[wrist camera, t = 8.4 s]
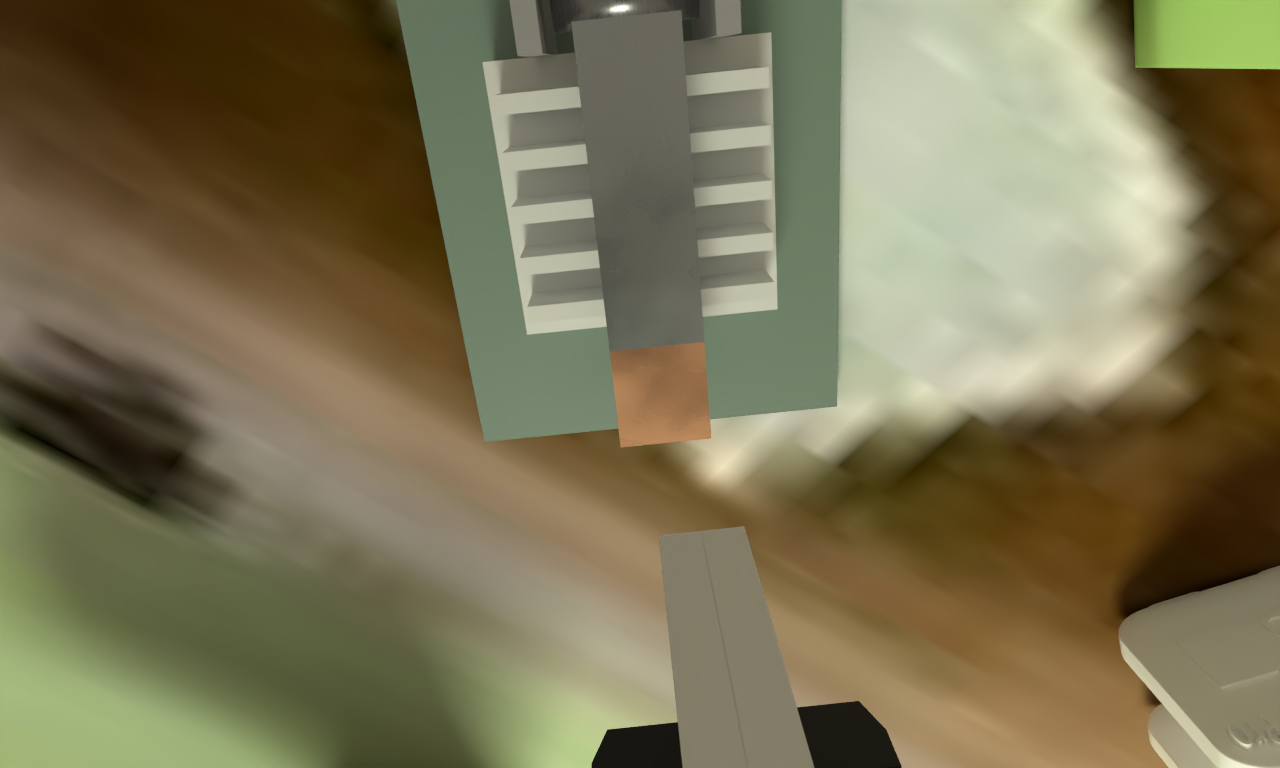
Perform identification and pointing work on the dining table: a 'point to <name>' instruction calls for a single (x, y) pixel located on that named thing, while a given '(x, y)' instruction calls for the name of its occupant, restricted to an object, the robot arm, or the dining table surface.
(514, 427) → the heatsink board
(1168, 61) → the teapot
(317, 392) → the dining table surface
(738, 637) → the robot arm
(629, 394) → the orange-tipped flat strip
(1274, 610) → the cable organizer
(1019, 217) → the dining table surface
